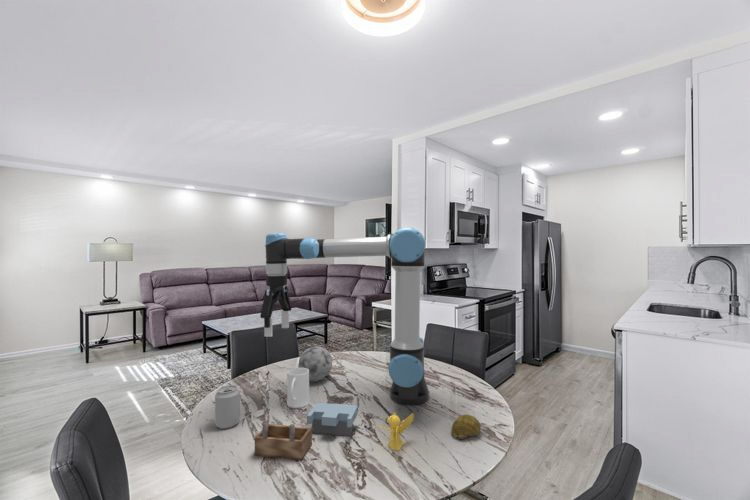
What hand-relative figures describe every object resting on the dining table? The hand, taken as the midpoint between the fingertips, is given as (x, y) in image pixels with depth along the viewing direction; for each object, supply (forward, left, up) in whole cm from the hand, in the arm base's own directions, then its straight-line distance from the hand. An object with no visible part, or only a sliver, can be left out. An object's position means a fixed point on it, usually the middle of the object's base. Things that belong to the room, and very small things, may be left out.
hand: (277, 332), depth 127 cm
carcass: (-15, +27, -27) cm, 41 cm away
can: (+10, +16, -27) cm, 33 cm away
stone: (-6, -25, -27) cm, 38 cm away
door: (-26, +15, -23) cm, 38 cm away
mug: (-7, -1, -27) cm, 28 cm away
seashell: (-67, +11, -28) cm, 73 cm away
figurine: (-44, +19, -27) cm, 55 cm away
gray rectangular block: (-26, +15, -27) cm, 40 cm away
